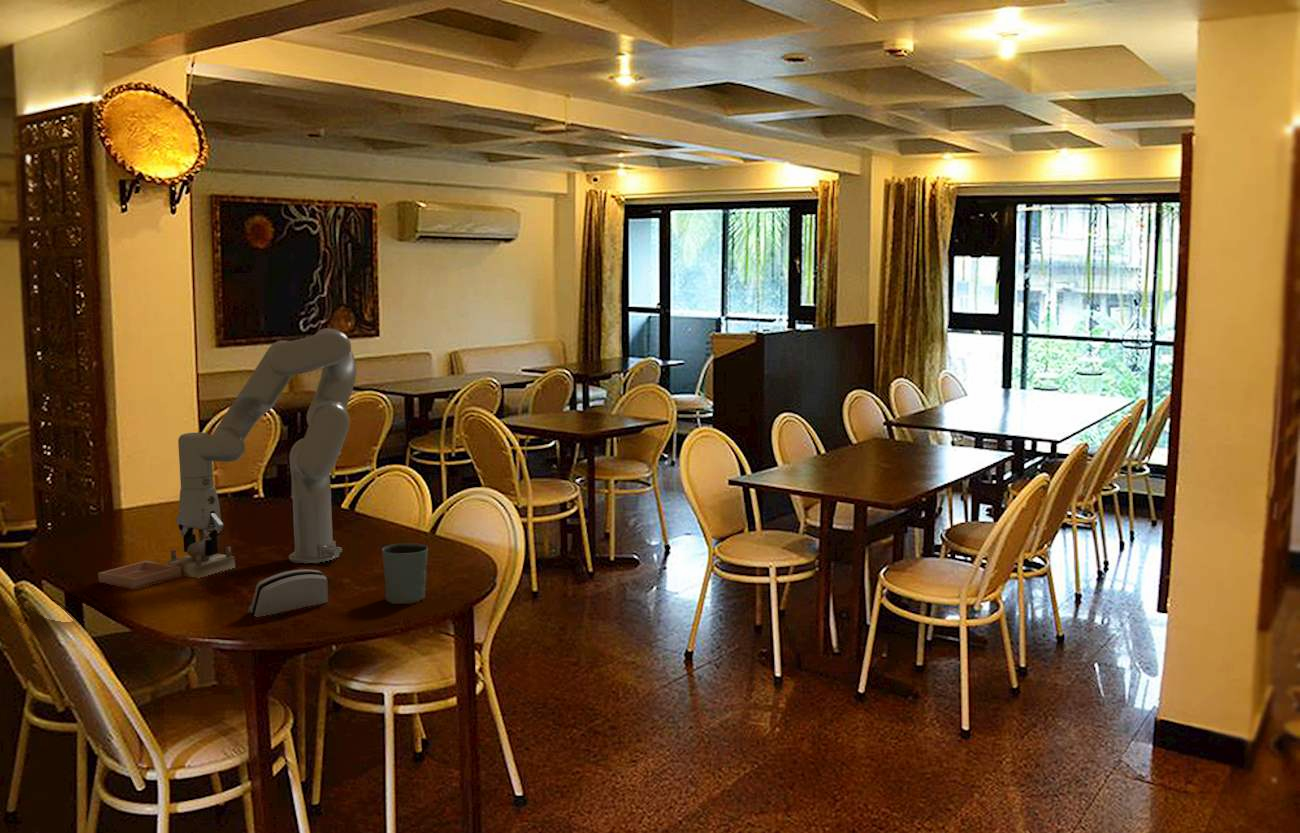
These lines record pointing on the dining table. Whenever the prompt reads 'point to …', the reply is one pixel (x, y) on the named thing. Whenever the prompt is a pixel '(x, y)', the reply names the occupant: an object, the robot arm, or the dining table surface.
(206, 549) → the robot arm
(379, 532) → the dining table surface
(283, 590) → the grey arched block
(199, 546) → the garlic bulb
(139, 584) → the terracotta dish
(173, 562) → the peg rest
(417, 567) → the grey green cup
